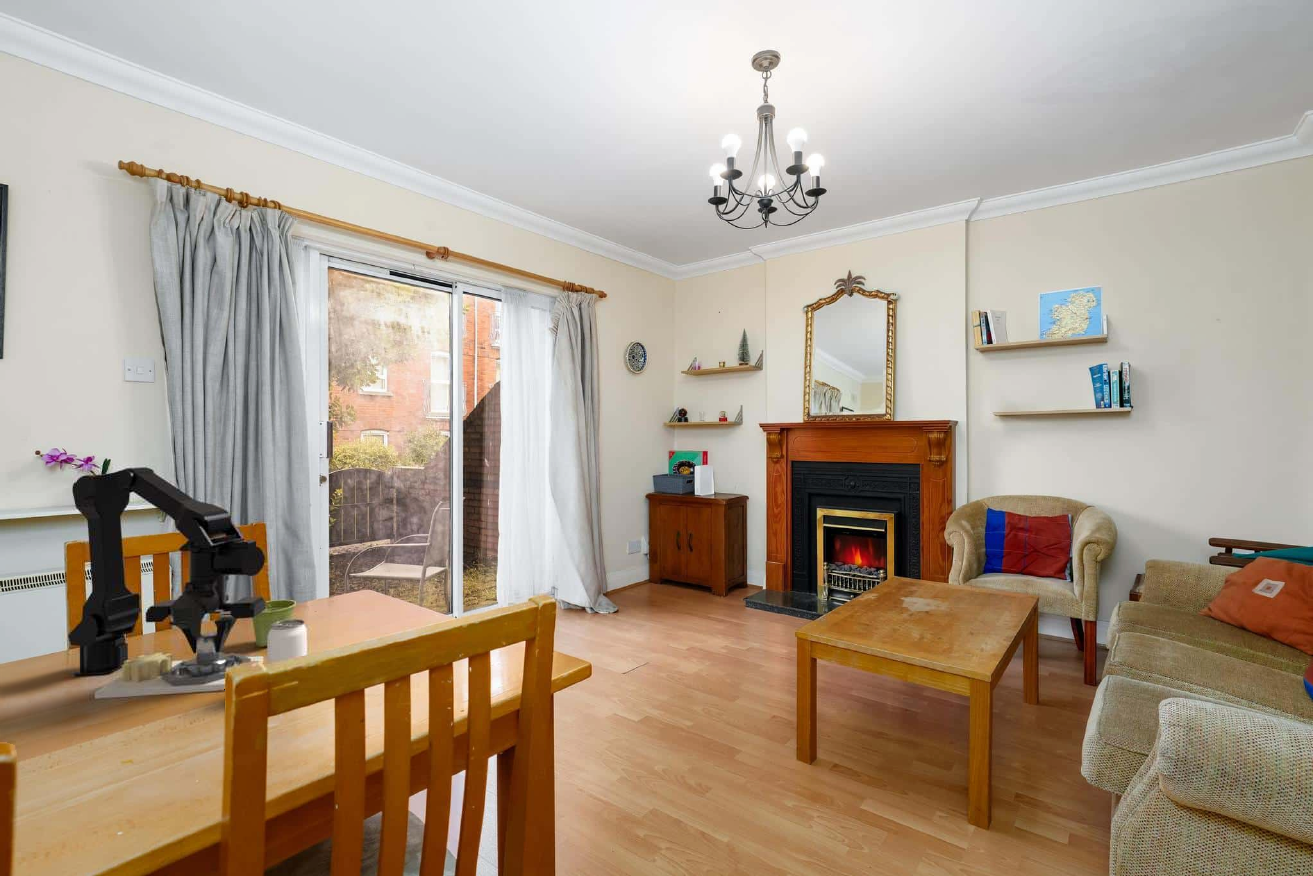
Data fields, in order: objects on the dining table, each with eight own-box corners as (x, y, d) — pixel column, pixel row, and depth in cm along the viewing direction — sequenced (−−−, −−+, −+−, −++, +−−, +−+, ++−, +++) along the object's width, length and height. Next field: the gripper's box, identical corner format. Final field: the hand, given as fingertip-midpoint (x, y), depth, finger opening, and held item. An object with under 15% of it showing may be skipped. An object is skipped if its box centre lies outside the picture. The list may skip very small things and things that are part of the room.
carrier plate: (94, 698, 110) (94, 675, 110) (144, 668, 124) (144, 648, 124) (229, 690, 114) (229, 667, 114) (263, 661, 128) (263, 642, 128)
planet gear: (167, 678, 114) (167, 644, 114) (194, 660, 123) (194, 628, 123) (221, 675, 116) (221, 641, 116) (243, 658, 125) (243, 626, 125)
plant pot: (304, 641, 141) (304, 603, 140) (260, 653, 133) (260, 614, 132) (283, 633, 146) (283, 597, 145) (239, 645, 138) (239, 607, 138)
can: (288, 695, 112) (288, 630, 112) (258, 691, 113) (258, 628, 113) (314, 681, 118) (314, 620, 118) (286, 678, 120) (286, 617, 120)
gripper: (125, 585, 110) (126, 671, 110) (240, 582, 113) (240, 665, 113) (163, 571, 121) (163, 649, 121) (266, 568, 124) (266, 644, 124)
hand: (207, 652), depth 120 cm, fingers open, 4 cm apart
